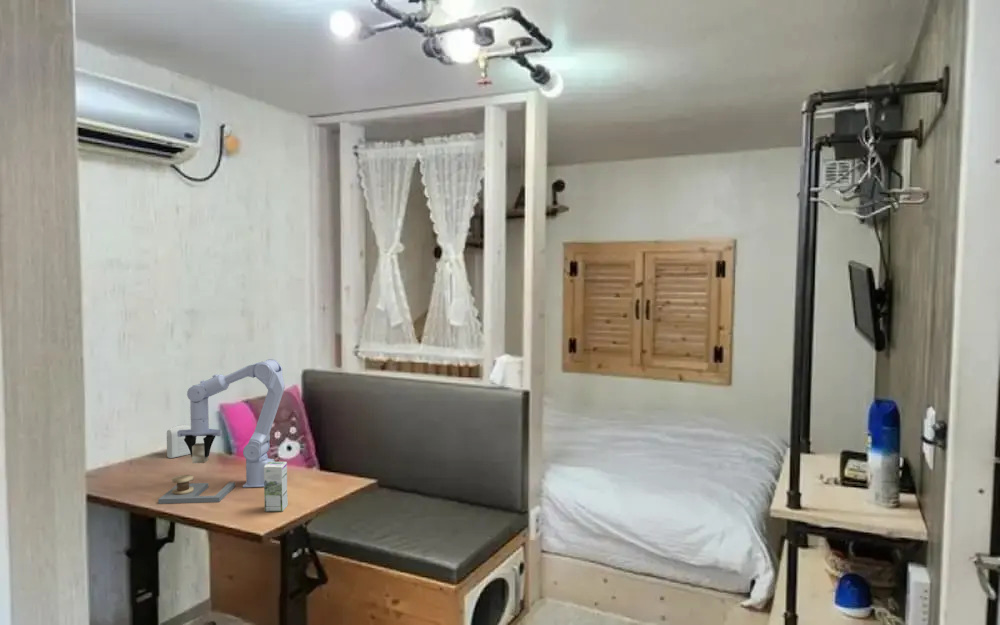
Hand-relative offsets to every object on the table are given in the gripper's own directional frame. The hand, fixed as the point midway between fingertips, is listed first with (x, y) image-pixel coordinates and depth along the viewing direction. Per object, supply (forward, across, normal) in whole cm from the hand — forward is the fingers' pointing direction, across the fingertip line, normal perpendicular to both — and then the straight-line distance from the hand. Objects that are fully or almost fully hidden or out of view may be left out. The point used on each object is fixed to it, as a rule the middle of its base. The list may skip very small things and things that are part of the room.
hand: (200, 456), depth 228 cm
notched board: (+10, -3, +11) cm, 16 cm away
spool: (+8, +1, +12) cm, 15 cm away
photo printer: (+10, +23, -40) cm, 47 cm away
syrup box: (+10, -33, +27) cm, 44 cm away
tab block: (+2, 0, 0) cm, 2 cm away
